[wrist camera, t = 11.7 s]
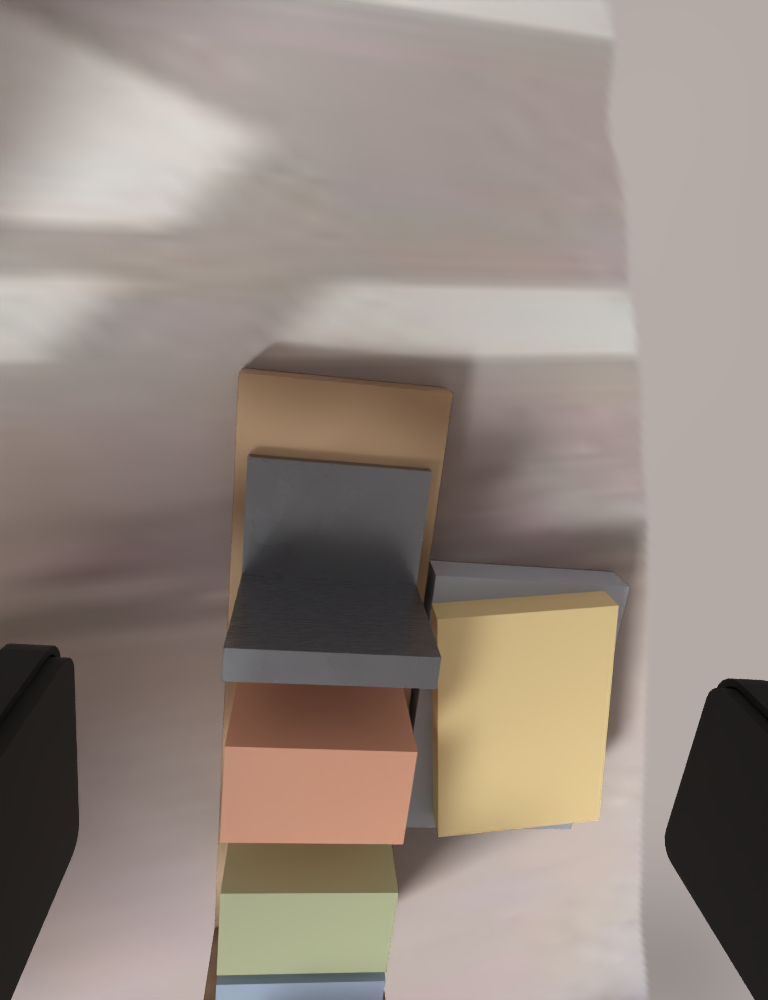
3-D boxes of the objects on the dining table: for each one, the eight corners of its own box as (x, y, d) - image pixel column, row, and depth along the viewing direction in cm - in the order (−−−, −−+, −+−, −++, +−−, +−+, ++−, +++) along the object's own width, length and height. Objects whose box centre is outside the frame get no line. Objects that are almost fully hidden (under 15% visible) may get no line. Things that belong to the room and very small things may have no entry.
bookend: (411, 606, 28) (436, 689, 22) (241, 597, 27) (222, 681, 21) (429, 468, 26) (462, 519, 20) (248, 453, 25) (229, 503, 19)
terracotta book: (243, 650, 27) (224, 746, 22) (396, 658, 28) (417, 752, 23) (238, 732, 29) (219, 842, 23) (386, 736, 29) (403, 844, 24)
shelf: (372, 917, 35) (405, 1264, 22) (218, 919, 34) (162, 1283, 21) (445, 387, 26) (561, 476, 14) (242, 368, 25) (175, 444, 13)
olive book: (373, 847, 31) (386, 971, 26) (234, 846, 30) (216, 975, 25) (382, 778, 30) (398, 892, 24) (238, 776, 29) (220, 893, 24)
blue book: (363, 919, 33) (374, 1052, 27) (230, 920, 32) (212, 1058, 26) (372, 855, 31) (385, 981, 26) (234, 855, 31) (216, 985, 25)
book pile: (567, 804, 34) (590, 852, 31) (394, 802, 32) (402, 851, 30) (622, 572, 30) (655, 602, 27) (429, 560, 29) (441, 590, 26)
